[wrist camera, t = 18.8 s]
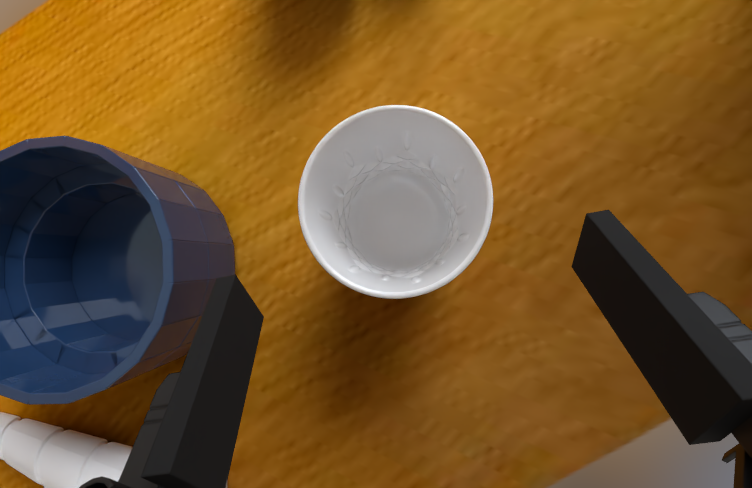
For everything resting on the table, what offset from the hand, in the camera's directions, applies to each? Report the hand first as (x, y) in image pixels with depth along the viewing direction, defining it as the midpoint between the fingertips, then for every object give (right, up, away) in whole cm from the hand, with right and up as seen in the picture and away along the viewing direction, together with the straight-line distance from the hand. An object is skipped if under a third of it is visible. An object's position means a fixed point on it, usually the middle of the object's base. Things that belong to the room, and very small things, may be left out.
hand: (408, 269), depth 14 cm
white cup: (0, +2, +11) cm, 11 cm away
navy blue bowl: (-18, -1, +12) cm, 22 cm away
